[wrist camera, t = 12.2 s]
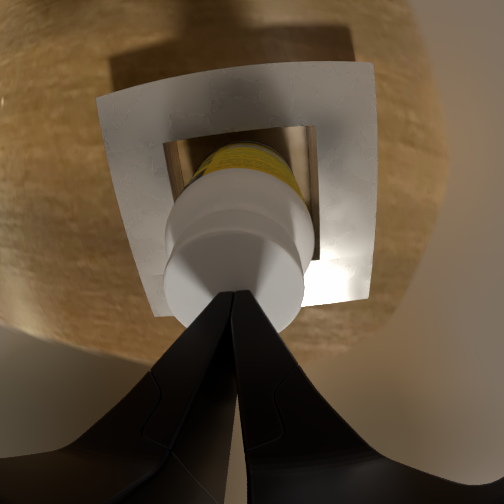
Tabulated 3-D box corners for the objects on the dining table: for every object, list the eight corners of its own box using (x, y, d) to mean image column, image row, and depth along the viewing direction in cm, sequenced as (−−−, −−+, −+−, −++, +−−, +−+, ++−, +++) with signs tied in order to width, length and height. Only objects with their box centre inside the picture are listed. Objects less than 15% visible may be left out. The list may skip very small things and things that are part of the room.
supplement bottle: (208, 128, 15) (151, 175, 7) (306, 155, 16) (367, 234, 8) (187, 218, 18) (134, 338, 9) (276, 241, 19) (293, 372, 10)
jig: (163, 292, 20) (154, 316, 18) (116, 95, 14) (95, 97, 12) (357, 275, 20) (368, 298, 18) (356, 66, 13) (373, 62, 11)
